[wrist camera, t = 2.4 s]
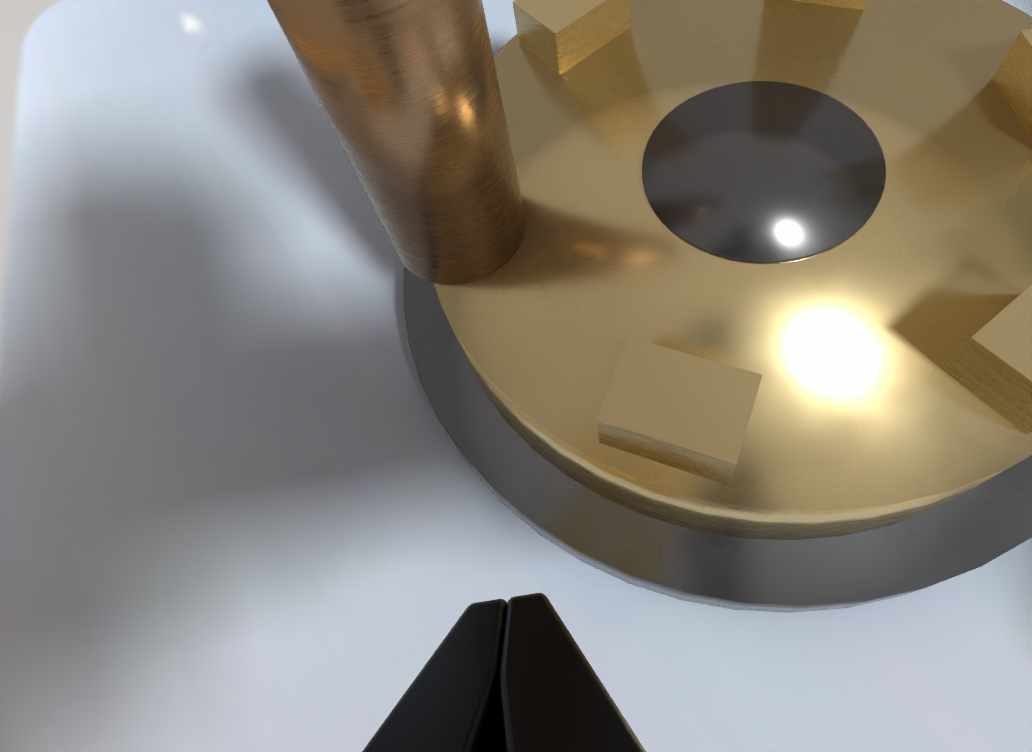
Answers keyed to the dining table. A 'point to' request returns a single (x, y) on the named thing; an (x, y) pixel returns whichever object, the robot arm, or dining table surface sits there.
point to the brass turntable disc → (714, 237)
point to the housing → (694, 554)
